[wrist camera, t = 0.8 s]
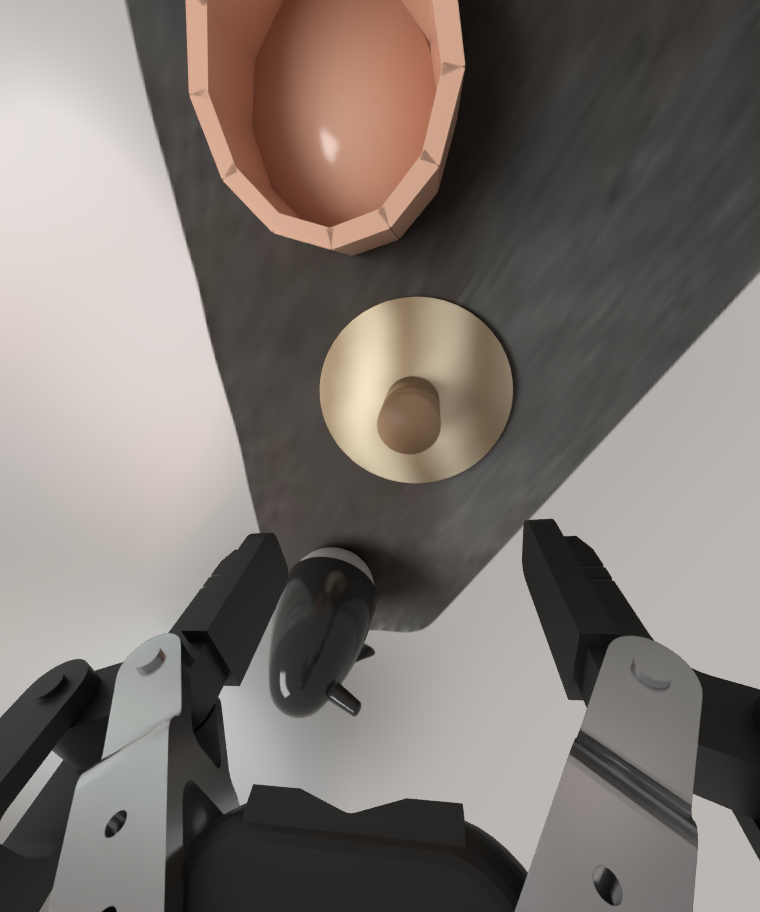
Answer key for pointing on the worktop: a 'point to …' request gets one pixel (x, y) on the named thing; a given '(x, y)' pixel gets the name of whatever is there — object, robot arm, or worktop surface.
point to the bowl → (328, 110)
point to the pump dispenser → (319, 632)
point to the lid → (416, 390)
